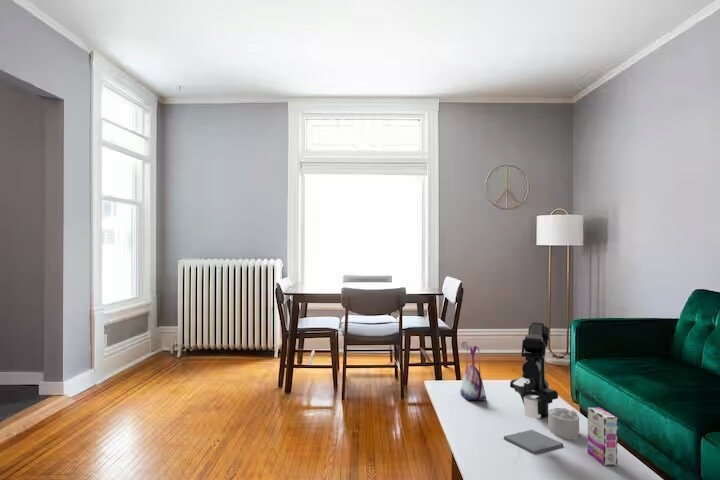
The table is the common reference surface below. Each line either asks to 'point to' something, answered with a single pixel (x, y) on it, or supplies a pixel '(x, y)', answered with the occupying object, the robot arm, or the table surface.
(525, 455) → the table surface
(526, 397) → the shot glass
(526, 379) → the robot arm
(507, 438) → the charcoal mat
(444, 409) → the table surface
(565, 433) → the lumpy-topped squat cylinder
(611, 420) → the candy bar box
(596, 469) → the table surface
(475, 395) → the handbag
